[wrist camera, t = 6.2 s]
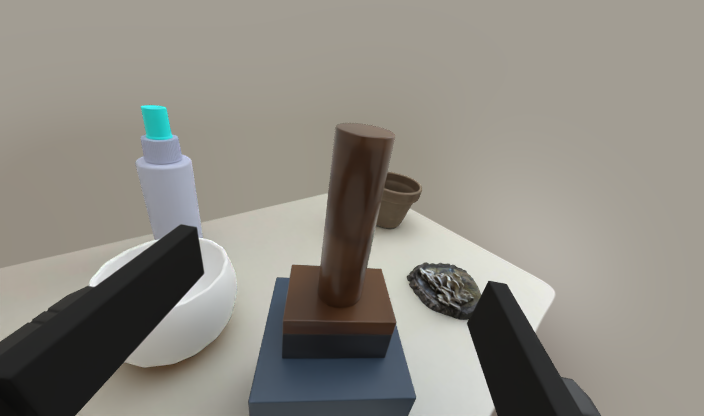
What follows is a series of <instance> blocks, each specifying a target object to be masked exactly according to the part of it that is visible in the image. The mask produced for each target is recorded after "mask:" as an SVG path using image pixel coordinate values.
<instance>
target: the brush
mask: <svg viewBox="0 0 704 416" xmlns="http://www.w3.org/2000/svg"><path fill="white" fill-rule="evenodd" d="M394 140H395V134H394V133H393V132H391V131H389V130H386V129H384V128H380V127H376V126H372V125H366V124H358V123H341V124H337V125H336V128H335V137H334V146H333V155H332V165H331V173H330V182H329V192H328V201H327V210H326V219H325V228H324V237H323V247H322V256H321V265H320V266H308V265H292V268H291V274H290V280H289V286H288V292H287V298H286V304H285V310H284V316H283V331H282V332H283V333H282V358H283V359H293V358H385V356H386V353H387V350H388V347H389V344H390V341H391V338H392V334H393V332H394V329H395V326H396V319H395V316H394V312H393V309H392V305H391V301H390V298H389V294H388V291H387V287H386V284H385V280H384V276H383V273H382V269H372V268H367V265H368V260H369V255H370V251H371V246H372V242H373V237H374V232H375V228H376V223H377V218H378V214H379V209H380V205H381V200H382V195H383V191H384V186H385V181H386V177H387V172H388V168H389V163H390V158H391V154H392V149H393V144H394Z"/></svg>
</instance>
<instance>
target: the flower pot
mask: <svg viewBox="0 0 704 416" xmlns="http://www.w3.org/2000/svg"><path fill="white" fill-rule="evenodd" d="M421 192H422V186H421V185H420V184H419V183H418V182H417V181H415V180H414V179H411V178H409V177H407V176H404V175H401V174H397V173H392V172H387V177H386V181H385V186H384V191H383V195H382V200H381V205H380V209H379V214H378V218H377V223H376V225H378V226H380V227H383V228H396V227H398V226H399V224H400V223H401V221H402V220H403V218H404V217H405V215H406V214H407V212H408V210H409V208H410V207H411V205H412V204H413V203H414V202H416V201H418V199H419V197H420V194H421Z"/></svg>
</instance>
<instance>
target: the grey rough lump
mask: <svg viewBox="0 0 704 416" xmlns="http://www.w3.org/2000/svg"><path fill="white" fill-rule="evenodd" d="M407 279H408V281H410V284H409V285H410V287H411V288H413V289H414V292H415V294H417V295H418V296H419V298H420V300H421V301H422V302H423V303H424V304H425V305H426V306H428V307H429V308H431V309H432V310H434V311H436V312H440V313H442V314H445V315H449V316H452V317H454V318H458V319H470V317H471V315H472V313H473V311H474V309H475V307H476V305H477V303H478V301H479V299H480V297H481V293H480V291H479V288H478V286H477V285H476V283H475V281H474V280H473V278H472V277H471V276H470V275H469V274H467V271H465V270H462V269H461V268H457V267H456V266H455V265H450V264H442V263H439V264H433V263H432V264H428V263H423V264H422V265H418V266H417V267H415V268H414V269H413V271H412V272H410V275H408V276H407Z"/></svg>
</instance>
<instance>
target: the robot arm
mask: <svg viewBox="0 0 704 416" xmlns="http://www.w3.org/2000/svg"><path fill="white" fill-rule="evenodd" d="M204 274H205V273H204V267H203V261H202V255H201V249H200V242H199V236H198V230H197V227H194V226H188V225H183V224H180V225H179V226H177V227H176V228H175V229H173V230H172V231H171V232H169V233H168V234H166V235H165V236H164V237H162V238H161V239H160V240H158V241H157V242H155V243H154V244H153V245H151V246H150V247H149V248H147V249H146V250H144V251H143V252H142V253H140V254H139V255H138V256H136V257H135V258H134V259H132V260H131V261H129V262H128V263H127V264H125V265H124V266H123V267H121V268H120V269H118V270H117V271H116V272H114V273H113V274H112V275H110V276H109V277H107V278H106V279H105V280H103V281H102V282H101V283H99V284H98V285H96V286H95V287H92V286H87V287H85V288H82V289H80V290H78V291H76V292H74V293H72V294H69V295H67V296H66V297H64V298H63V299H61V300H60V301H59V302H57V303H56V304H54V305H53V306H51V307H50V308H48V311H44V312H43V313H41V314H40V315H38V316H37V317H35V318H34V319H33V320H32V322H30V323H27V324H25V325H24V326H22V327H21V328H20V329H18V330H17V331H15V332H14V333H12V334H11V335H9V336H8V337H7V338H5V339H4V340H2V341H1V342H0V416H75V415H76V414H77V413H78V412H79V411H80V410H81V409H82V408H83V407H84V405H85V404H86V403H87V402H88V401H89V400H90V399H91V398H92V397H93V396H94V394H95V393H96V392H97V391H98V390H99V389H100V388H101V387H102V386H103V385H104V383H105V382H106V381H107V380H108V379H109V378H110V377H111V376H112V375H113V374H114V372H115V371H116V370H117V369H118V368H119V367H120V366H121V365H122V364H123V363H124V361H125V360H126V359H127V358H128V357H129V356H130V355H131V354H132V353H133V352H134V351H135V349H136V348H137V347H138V346H139V345H140V344H141V343H142V342H143V341H144V340H145V338H146V337H147V336H148V335H149V334H150V333H151V332H152V331H153V330H154V329H155V327H156V326H157V325H158V324H159V323H160V322H161V321H162V320H163V319H164V318H165V316H166V315H167V314H168V313H169V312H170V311H171V310H172V309H173V308H174V307H175V305H176V304H177V303H178V302H179V301H180V300H181V299H182V298H183V297H184V296H185V294H186V293H187V292H188V291H189V290H190V289H191V288H192V287H193V286H194V285H195V283H196V282H197V281H198V280H199V279H200V278H201V277H202V276H203V275H204ZM467 325H468V328H469V331H470V334H471V337H472V340H473V343H474V346H475V349H476V352H477V355H478V358H479V361H480V364H481V367H482V370H483V373H484V376H485V379H486V382H487V385H488V388H489V391H490V394H491V397H492V400H493V403H494V406H495V409H496V412H497V415H498V416H601V415H600V413H599V412H598V410H597V408H596V407H595V405H594V404H593V402H592V401H591V399H590V398H589V397H588V395H587V394H586V393H585V392H584V391H583V390H582V389H581V388H580V387H579V386H578V385H577V384H576V383H575V382H574V380H572V379H568V378H563V377H561V376H560V375H559V373H558V371H557V370H556V368H555V366H554V364H553V363H552V361H551V359H550V358H549V356H548V354H547V353H546V351H545V349H544V347H543V346H542V344H541V342H540V340H539V339H538V337H537V335H536V334H535V332H534V330H533V328H532V327H531V325H530V323H529V322H528V320H527V318H526V316H525V315H524V313H523V311H522V310H521V308H520V306H519V305H518V303H517V301H516V299H515V298H514V296H513V294H512V293H511V291H510V289H509V287H508V286H507V284H504V283H498V282H493V281H488V283H487V285H486V287H485V289H484V291H483V293H482V295H481V297H480V299H479V301H478V303H477V305H476V307H475V309H474V311H473V313H472V315H471V317H470V319H469V320H468V322H467Z"/></svg>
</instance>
